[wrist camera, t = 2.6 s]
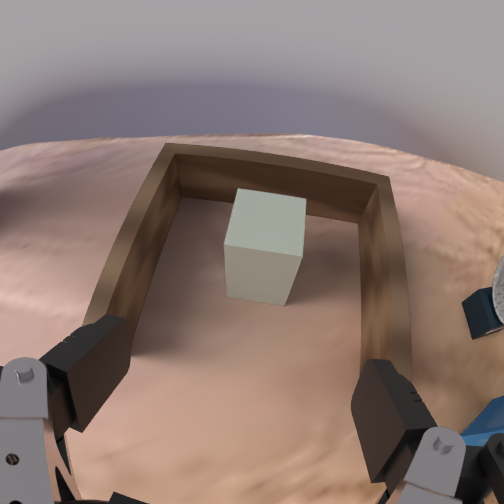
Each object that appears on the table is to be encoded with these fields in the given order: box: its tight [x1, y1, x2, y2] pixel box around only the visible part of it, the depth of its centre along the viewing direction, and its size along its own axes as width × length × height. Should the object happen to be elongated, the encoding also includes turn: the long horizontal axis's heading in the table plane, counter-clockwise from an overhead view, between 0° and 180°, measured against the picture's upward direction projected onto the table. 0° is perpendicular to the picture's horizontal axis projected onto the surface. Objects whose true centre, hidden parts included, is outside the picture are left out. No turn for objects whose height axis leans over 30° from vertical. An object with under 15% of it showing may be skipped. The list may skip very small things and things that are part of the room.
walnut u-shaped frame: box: [82, 143, 412, 382], centre depth 24 cm, size 19×22×6 cm
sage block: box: [224, 188, 306, 306], centre depth 24 cm, size 5×5×8 cm
